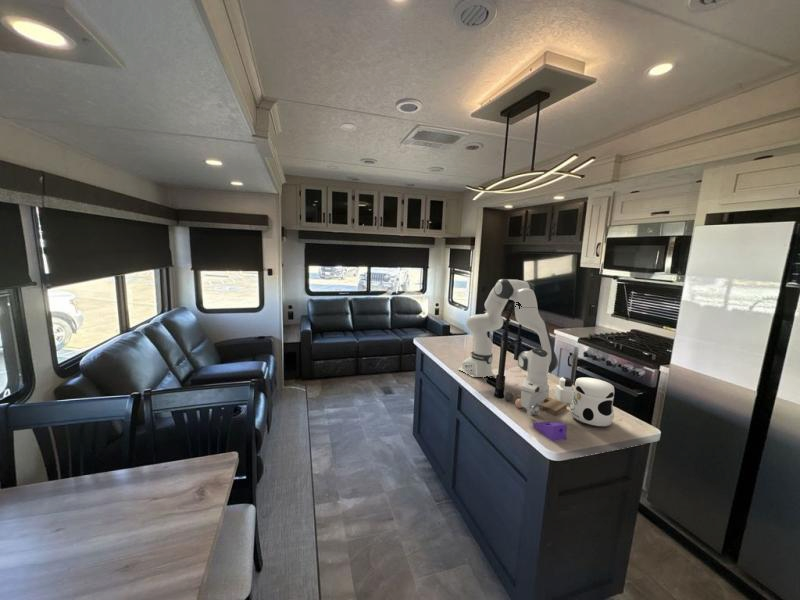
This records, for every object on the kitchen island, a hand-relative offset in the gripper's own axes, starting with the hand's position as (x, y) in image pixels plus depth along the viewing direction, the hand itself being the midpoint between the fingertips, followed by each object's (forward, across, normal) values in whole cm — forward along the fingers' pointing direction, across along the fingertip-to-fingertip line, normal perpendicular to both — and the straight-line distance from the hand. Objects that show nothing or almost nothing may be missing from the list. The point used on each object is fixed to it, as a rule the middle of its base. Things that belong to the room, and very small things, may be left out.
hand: (534, 411), depth 152 cm
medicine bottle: (+2, -28, +2) cm, 28 cm away
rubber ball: (-1, -4, -16) cm, 17 cm away
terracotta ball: (-1, -1, -8) cm, 8 cm away
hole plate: (+2, -13, -3) cm, 13 cm away
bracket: (+2, +10, +12) cm, 16 cm away
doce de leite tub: (+2, -16, +19) cm, 25 cm away
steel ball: (-1, 0, 0) cm, 1 cm away
